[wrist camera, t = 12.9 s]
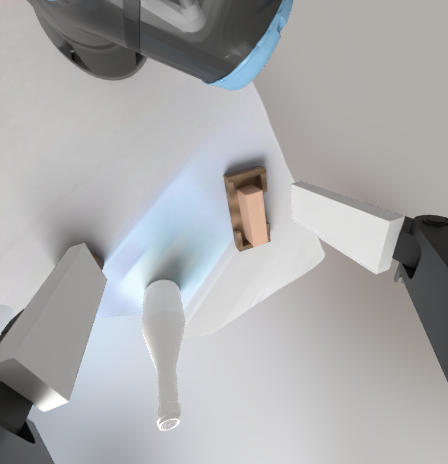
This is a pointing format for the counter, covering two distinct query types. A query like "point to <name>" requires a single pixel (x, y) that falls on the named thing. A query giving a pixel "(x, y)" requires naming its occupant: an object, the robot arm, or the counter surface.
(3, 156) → the counter surface
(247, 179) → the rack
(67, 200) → the counter surface
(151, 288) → the wine bottle
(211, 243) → the counter surface
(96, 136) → the counter surface
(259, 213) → the peach rectangular block
